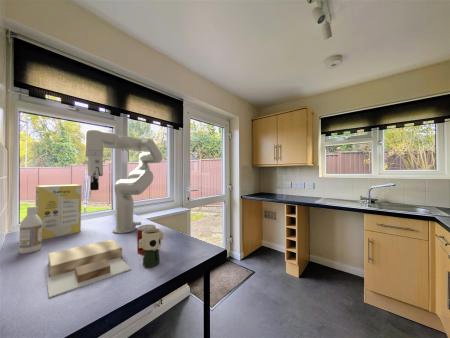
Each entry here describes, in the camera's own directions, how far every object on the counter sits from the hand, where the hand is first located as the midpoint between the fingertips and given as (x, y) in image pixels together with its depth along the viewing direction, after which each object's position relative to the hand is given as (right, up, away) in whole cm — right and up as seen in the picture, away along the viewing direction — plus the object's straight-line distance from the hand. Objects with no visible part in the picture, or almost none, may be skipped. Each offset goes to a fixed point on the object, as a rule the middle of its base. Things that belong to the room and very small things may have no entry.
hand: (94, 190), depth 95 cm
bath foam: (-22, -27, -11) cm, 36 cm away
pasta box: (-30, -27, +13) cm, 42 cm away
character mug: (+38, -27, -22) cm, 52 cm away
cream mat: (+20, -26, -30) cm, 44 cm away
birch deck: (+10, -26, -19) cm, 34 cm away
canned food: (+31, -27, -10) cm, 42 cm away
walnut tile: (+21, -24, -30) cm, 43 cm away
